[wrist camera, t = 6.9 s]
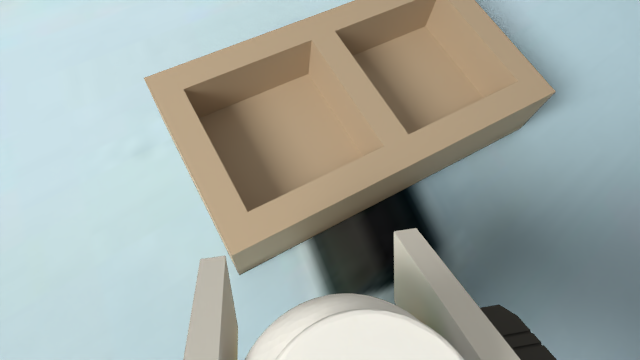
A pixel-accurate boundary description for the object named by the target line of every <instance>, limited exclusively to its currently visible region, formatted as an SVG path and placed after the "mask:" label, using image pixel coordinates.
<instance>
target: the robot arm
mask: <svg viewBox="0 0 640 360" xmlns="http://www.w3.org/2000/svg"><path fill="white" fill-rule="evenodd" d="M394 301H395V303H396V305H397V306H398V307H400V308H402V309H404V310H405V311H407V312H409V313H410V314H411V315H413V316H414V317H416V318H417V319H418V320H419V321H421V322H422V323H424V324H425V325H427V326H429V327H430V328H432V329H433V330H434V331H436V332H437V333H438V334H440V335H441V336H442V337H443V338H445V339H446V340H447V341H448V342H449V343H450V344H451V345H452V346H453V347H454V348H455V349H456V350H457V351H458V352H459V354H460V355H461V356H462V357H463V358H464V360H556V358H555V357H554V356H553V355H552V354H551V353H550V352H549V351H548V350H547V348H546V347H545V346H544V345H543V346H542V345H541V342H540V341H539V340H538V338H537V337H536V336H535V335H534V334H533V333H531V332H530V329H529V328H528V327H527V326H526V325H525V324H524V323H523V322H522V321H521V319H520V318H519V317H518V316H517V315H515V314H513V313H512V312H510V311H509V310H507V309H505V308H504V307H502V306H500V305H494V306H488V307H482V308H479V307H478V305H477V304H476V303H475V302H474V300H473V299H472V298H471V297H470V295H469V294H468V293H467V291H466V290H465V289H464V288H463V286H462V285H461V284H460V283H459V281H458V280H457V279H456V278H455V276H454V275H453V274H452V273H451V271H450V270H449V269H448V268H447V266H446V265H445V264H444V262H443V261H442V260H441V259H440V257H439V256H438V255H437V254H436V252H435V251H434V250H433V249H432V247H431V246H430V245H429V244H428V242H427V241H426V240H425V239H424V237H423V236H422V235H421V233H420V232H419V231H418V230H417V228H414V229H407V230H400V231H394ZM237 345H238V325H237V319H236V314H235V308H234V302H233V296H232V291H231V285H230V279H229V273H228V268H227V262H226V256H219V257H213V258H206V259H200V264H199V270H198V276H197V282H196V288H195V294H194V300H193V306H192V312H191V318H190V324H189V330H188V335H187V341H186V347H185V353H184V359H183V360H237Z"/></svg>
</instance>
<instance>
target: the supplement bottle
mask: <svg viewBox="0 0 640 360" xmlns="http://www.w3.org/2000/svg"><path fill="white" fill-rule="evenodd" d="M245 360H464V358H463V357H462V356H461V355H460V354H459V352H458V351H457V350H456V349H455V348H454V347H453V346H452V345H451V344H450V343H449V342H448V341H447V340H446V339H445V338H443V337H442V336H441V335H440V334H438V333H437V332H436V331H434V330H433V329H432V328H430V327H429V326H427V325H425V324H424V323H422V322H421V321H419V320H418V319H417V318H416V317H414V316H413V315H411V314H410V313H409V312H407V311H405V310H404V309H402V308H400V307H398V306H396V305H394V304H392V303H390V302H387V301H384V300H382V299H379V298H375V297H372V296H366V295H360V294H332V295H326V296H322V297H318V298H314V299H311V300H309V301H306V302H304V303H302V304H299V305H298V306H296V307H294V308H292V309H290V310H289V311H287V312H286V313H284V314H283V315H282V316H280V317H279V318H278V319H277V320H275V321H274V322H273V323H272V324H271V325H270V326H269V327H268V328H267V329H266V330H265V331H264V332H263V333H262V335H261V336H260V337H259V338H258V339H257V341H256V342H255V344H254V345H253V347H252V348H251V349H250V351H249V353H248V355H247V356H246V358H245Z"/></svg>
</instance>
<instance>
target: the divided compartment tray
mask: <svg viewBox="0 0 640 360" xmlns="http://www.w3.org/2000/svg"><path fill="white" fill-rule="evenodd" d="M144 79H145V81H146V84H147V86H148V88H149V90H150V92H151V95H152V97H153V99H154V101H155V103H156V105H157V108H158V110H159V112H160V114H161V116H162V119H163V121H164V123H165V125H166V127H167V129H168V131H169V133H170V135H171V137H172V139H173V141H174V143H175V145H176V147H177V149H178V151H179V153H180V155H181V157H182V159H183V161H184V163H185V165H186V168H187V170H188V172H189V174H190V176H191V178H192V180H193V182H194V184H195V186H196V188H197V190H198V192H199V194H200V196H201V198H202V200H203V202H204V204H205V206H206V208H207V210H208V212H209V214H210V216H211V218H212V220H213V223H214V225H215V227H216V229H217V231H218V233H219V235H220V237H221V239H222V241H223V243H224V245H225V247H226V249H227V251H228V253H229V255H230V257H231V259H232V261H233V263H234V265H235V267H236V269H237V271H238V273H239V275H240V274H242V273H244V272H246V271H248V270H250V269H252V268H254V267H256V266H258V265H260V264H261V263H263V262H265V261H267V260H269V259H271V258H273V257H275V256H277V255H279V254H281V253H283V252H284V251H286V250H288V249H290V248H292V247H294V246H296V245H298V244H300V243H302V242H304V241H306V240H307V239H309V238H311V237H313V236H315V235H317V234H319V233H321V232H323V231H325V230H327V229H329V228H330V227H332V226H334V225H336V224H338V223H340V222H342V221H344V220H346V219H348V218H350V217H352V216H353V215H355V214H357V213H359V212H361V211H363V210H365V209H367V208H369V207H371V206H373V205H375V204H376V203H378V202H380V201H382V200H384V199H386V198H388V197H390V196H392V195H394V194H396V193H398V192H399V191H401V190H403V189H405V188H407V187H409V186H411V185H413V184H415V183H417V182H419V181H421V180H422V179H424V178H426V177H428V176H430V175H432V174H434V173H436V172H438V171H440V170H442V169H444V168H445V167H447V166H449V165H451V164H453V163H455V162H457V161H459V160H461V159H463V158H465V157H467V156H468V155H470V154H472V153H474V152H476V151H478V150H480V149H482V148H484V147H486V146H488V145H490V144H491V143H493V142H495V141H497V140H499V139H501V138H503V137H505V136H507V135H509V134H511V133H513V132H514V131H516V130H518V129H520V128H521V127H522V126H523V125H524V124H525V123H526V122H527V121H528V120H529V119H530V118H531V117H532V116H533V115H534V114H535V113H536V112H537V110H538V109H539V108H540V107H541V106H542V105H543V104H544V103H545V102H546V101H547V100H548V99H549V98H550V97H551V96H552V95H553V94H554V93H555V92H556V91H555V90H554V89H553V88H552V87H551V86H550V85H549V84H548V82H547V81H546V80H545V79H544V78H543V77H542V76H541V75H540V73H539V72H538V71H537V70H536V69H535V68H534V67H533V66H532V64H531V63H530V62H529V61H528V60H527V59H526V58H525V56H524V55H523V54H522V53H521V52H520V51H519V50H518V49H517V47H516V46H515V45H514V44H513V43H512V42H511V41H510V40H509V38H508V37H507V36H506V35H505V34H504V33H503V32H502V31H501V29H500V28H499V27H498V26H497V25H496V24H495V23H494V21H493V20H492V19H491V18H490V17H489V16H488V15H487V14H486V12H485V11H484V10H483V9H482V8H481V7H480V6H479V5H478V3H477V2H476V1H475V0H355V1H352V2H349V3H347V4H344V5H341V6H339V7H336V8H333V9H330V10H328V11H325V12H322V13H320V14H317V15H314V16H311V17H309V18H306V19H303V20H300V21H298V22H295V23H292V24H290V25H287V26H284V27H281V28H279V29H276V30H273V31H271V32H268V33H265V34H262V35H260V36H257V37H254V38H252V39H249V40H246V41H243V42H241V43H238V44H235V45H232V46H230V47H227V48H224V49H222V50H219V51H216V52H213V53H211V54H208V55H205V56H203V57H200V58H197V59H194V60H192V61H189V62H186V63H183V64H181V65H178V66H175V67H173V68H170V69H167V70H164V71H162V72H159V73H156V74H154V75H151V76H148V77H145V78H144Z"/></svg>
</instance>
